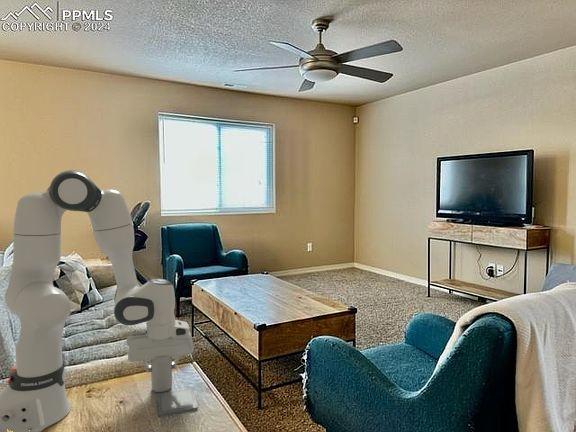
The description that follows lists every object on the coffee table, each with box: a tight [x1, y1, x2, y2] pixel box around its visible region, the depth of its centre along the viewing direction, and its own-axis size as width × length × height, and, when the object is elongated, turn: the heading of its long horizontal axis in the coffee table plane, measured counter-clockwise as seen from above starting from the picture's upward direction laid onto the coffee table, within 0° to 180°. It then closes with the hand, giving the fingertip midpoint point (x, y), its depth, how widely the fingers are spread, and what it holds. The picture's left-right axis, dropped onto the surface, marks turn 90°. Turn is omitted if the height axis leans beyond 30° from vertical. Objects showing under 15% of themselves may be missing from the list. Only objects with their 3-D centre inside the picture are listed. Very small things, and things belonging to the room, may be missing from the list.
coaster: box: [157, 387, 198, 418], centre depth 120 cm, size 11×11×1 cm
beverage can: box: [150, 355, 173, 393], centre depth 128 cm, size 6×6×12 cm
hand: (161, 369), depth 128 cm, fingers closed on beverage can, 6 cm apart
